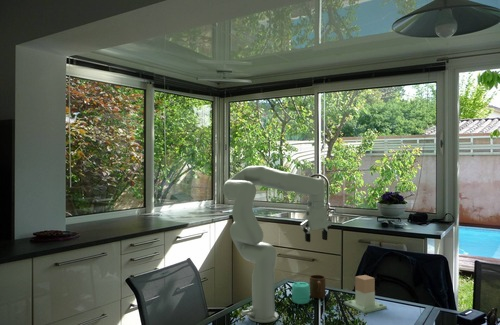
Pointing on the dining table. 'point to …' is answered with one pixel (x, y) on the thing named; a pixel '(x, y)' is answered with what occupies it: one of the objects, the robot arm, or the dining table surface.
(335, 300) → the dining table surface
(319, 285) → the mug
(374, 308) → the tower plate
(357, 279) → the orange tan cube
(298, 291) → the turquoise cylinder
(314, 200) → the robot arm
